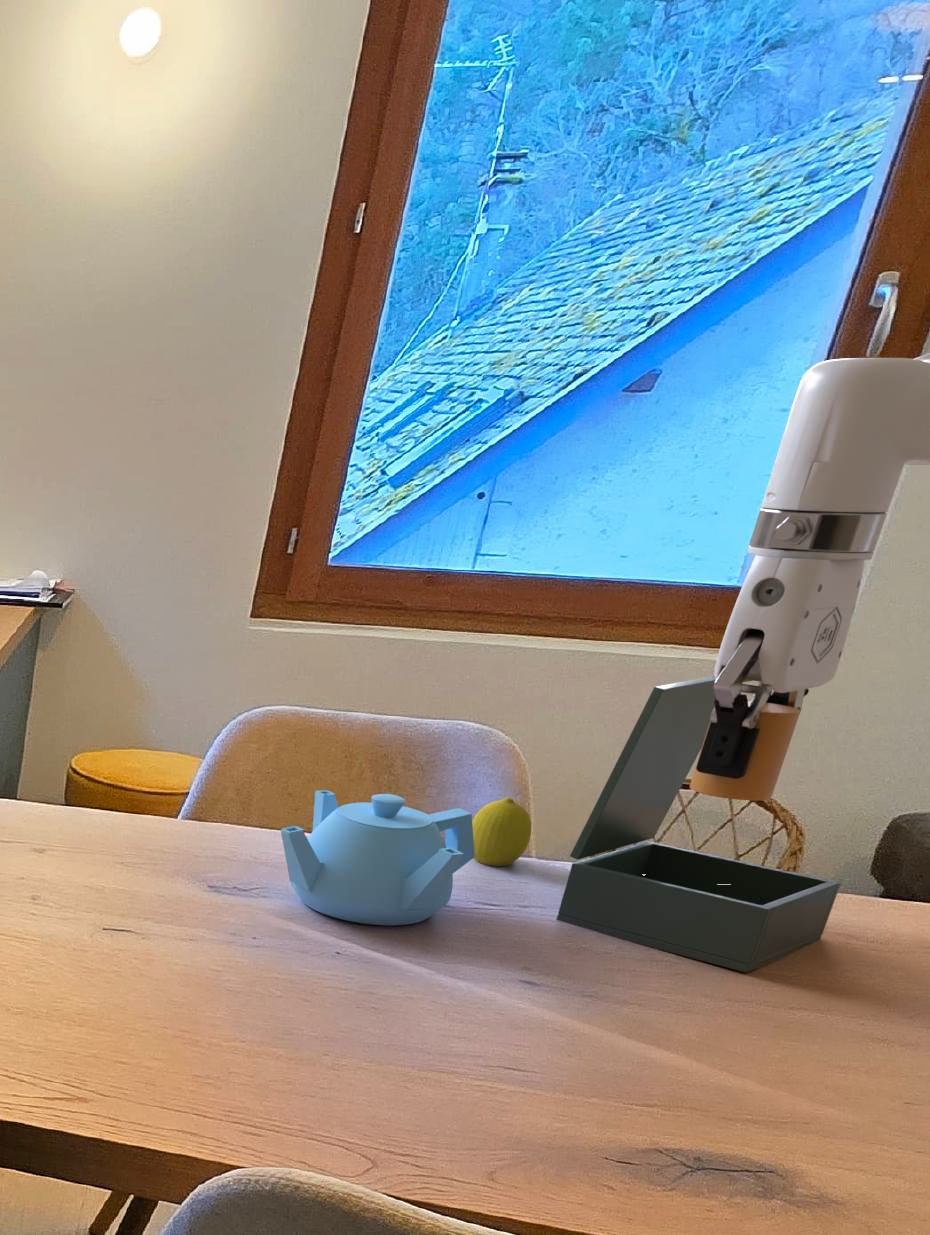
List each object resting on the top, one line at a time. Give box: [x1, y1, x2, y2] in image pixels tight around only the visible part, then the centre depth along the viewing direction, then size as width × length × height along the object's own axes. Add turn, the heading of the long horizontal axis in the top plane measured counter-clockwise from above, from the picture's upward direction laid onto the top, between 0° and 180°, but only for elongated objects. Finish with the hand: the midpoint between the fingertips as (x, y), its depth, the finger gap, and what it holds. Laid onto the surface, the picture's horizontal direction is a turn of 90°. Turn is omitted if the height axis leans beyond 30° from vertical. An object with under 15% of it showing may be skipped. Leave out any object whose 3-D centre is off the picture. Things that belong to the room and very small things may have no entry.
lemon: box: [472, 796, 532, 867], centre depth 147 cm, size 6×6×8 cm
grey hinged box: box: [556, 840, 842, 974], centre depth 130 cm, size 16×15×6 cm
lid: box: [569, 675, 716, 861], centre depth 131 cm, size 16×15×1 cm
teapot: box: [280, 789, 475, 926], centre depth 135 cm, size 15×15×11 cm
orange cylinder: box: [689, 700, 802, 802], centre depth 114 cm, size 5×5×7 cm
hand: (738, 768), depth 114 cm, fingers closed on orange cylinder, 5 cm apart
